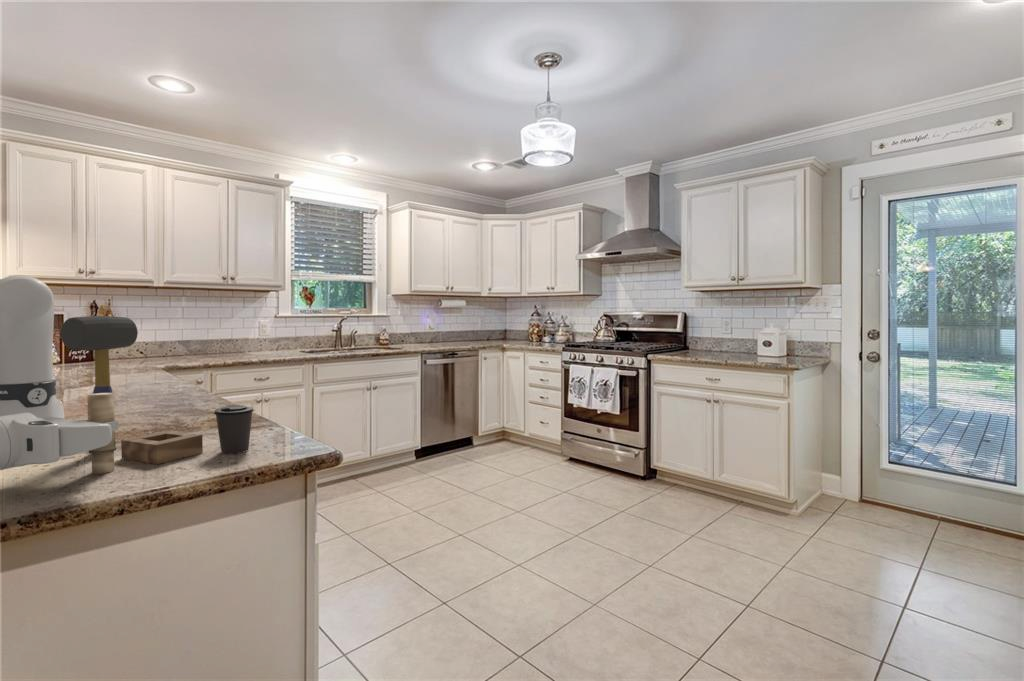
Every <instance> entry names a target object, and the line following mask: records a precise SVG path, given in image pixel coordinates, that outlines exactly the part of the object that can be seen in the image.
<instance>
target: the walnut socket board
mask: <svg viewBox="0 0 1024 681" xmlns="http://www.w3.org/2000/svg"><path fill="white" fill-rule="evenodd" d="M120 443H121V444H120V446H121V447H120V448H121V449H120V450H121V459H122V460H127V461H132V460H133V461H132V462H138V461H139V463H144V462H145V464H150V463H152V464H151V465H156V464H158V465H161V463H162V464H165V463H169V462H172V461H171V460H173V461H175V459H177V460H179V458H180V459H184V458H187V457H191V456H195V455H199V454H203V452H204V451H203V448H204V447H203V434H200V433H192V432H186V431H185V432H184V431H176V430H169V429H168V430H162V431H158V432H153V433H148V434H143V435H139V436H134V437H129V438H125V439H121V440H120ZM183 457H184V458H183ZM168 461H169V462H168ZM164 462H165V463H164Z"/></svg>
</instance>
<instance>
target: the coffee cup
mask: <svg viewBox="0 0 1024 681" xmlns="http://www.w3.org/2000/svg"><path fill="white" fill-rule="evenodd" d="M254 411H255V409H254V408H253V407H252V406H247V405H244V404H243V405H237V404H235V405H228V406H223V407H221V408H218V409H215V410H214V412H213V415H215V418H216V425H217V433H218V439H219V444H220V452H221V453H222V454H224V453H235V454H239V453H238V452H241V453H244V452H243V451H245V452H247V451H248V450H250V449H249V447H250V438H251V437H250V435H251V428H252V419H253V412H254ZM246 450H247V451H246Z"/></svg>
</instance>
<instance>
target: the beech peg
mask: <svg viewBox="0 0 1024 681" xmlns="http://www.w3.org/2000/svg"><path fill="white" fill-rule="evenodd" d="M86 395H87V420H88V422H96V423H103V422H108V421H116V420H115V418H116V415H115V393H114V392H113V393H96V394H93V393H91V394H90V393H89V394H86ZM115 441H116V431H112V442H111V443H109V444H108V445H106V446H103V447H100V448H97V449H93V450H89V451H88V454H90V455H91V456H90V457H91V474H92V473H93V475H101V474H102V475H104V474H108V472H109V473H112V472H114V471H115V452H114V451H116V450H117V446H116V444H117V443H116V444H115ZM103 473H104V474H103Z"/></svg>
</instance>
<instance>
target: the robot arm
mask: <svg viewBox="0 0 1024 681" xmlns="http://www.w3.org/2000/svg"><path fill="white" fill-rule="evenodd" d="M54 321H55V296H54V294H53V292H52V290H51V288H50V287H49V286H48V285H47V284H46V283H45V282H43V281H41V279H38V278H36V277H33V276H30V275H29V276H28V275H23V274H18V275H17V274H16V275H9V276H6V277H3V278H0V471H3V470H8V469H12V468H13V469H14V468H18V467H24V466H29V465H45V464H51V463H55V462H59V461H60V458H61V457H68V456H74V455H77V454H80V453H81V454H82V453H84V452H85V453H87V452H89V450H93V449H97V448H100V447H103V446H106V445H108V444H109V443H111V442H112V431H115V432H116V431H118V430H119V422H118V421H116V420H115V421H108V422H103V423H96V422H88V419H71V418H65V413H64V412H65V411H64V405H63V402H62V401H61V400H60V399H58V398H57V397H56V396H55V395H57V388H58V386H57V381H56V379H54V363H53V362H54V359H53V358H54V357H53V341H54V327H55V326H54V324H55V322H54Z"/></svg>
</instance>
